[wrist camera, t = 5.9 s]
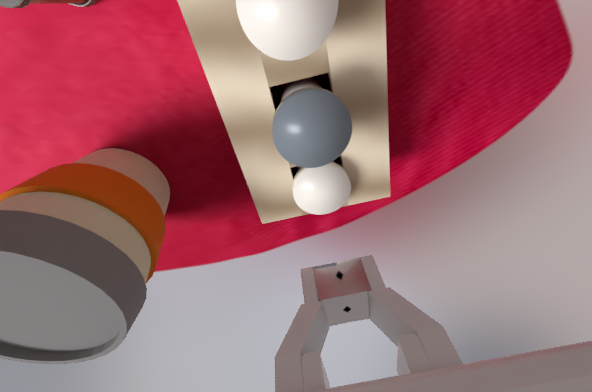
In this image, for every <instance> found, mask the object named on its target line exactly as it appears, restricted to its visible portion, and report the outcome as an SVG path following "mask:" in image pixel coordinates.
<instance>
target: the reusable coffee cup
mask: <svg viewBox="0 0 592 392" xmlns="http://www.w3.org/2000/svg"><path fill="white" fill-rule="evenodd" d="M169 199H170V188H169V184H168V182H167V179H166V178H165V176H164V175H163V173H162V172H161V171H160V170H159V168H158V167H157V166H156V165H154V164H153V163H152V162H151V161H149V160H148V159H146V158H145V157H143V156H141V155H139V154H137V153H134V152H132V151H128V150H124V149H117V148H107V149H100V150H97V151H94V152H92V153H90V154H88V155H86V156H85V157H83V158H81V159H79V160H77V161H75V162H73V163H72V164H63V165H59V166H56V167H53V168H50V169H48V170H46V171H44V172H42V173H40V174H39V175H37V176H35V177H33V178H31V179H29V180H27V181H25V182H23V183H21V184H19V185H17V186H15V187H13V188H11V189H9V190H7V191H5V192H3V193H2V194H0V358H3V359H8V360H14V361H21V362H28V363H41V364H67V363H76V362H83V361H87V360H92V359H95V358H98V357H100V356H103V355H106V354H108V353H109V352H111V351H113V350H114V349H116V348H117V347H118V346H119V345H120V343H122V341H123V340H124V338H125V337H126V335H127V333H128V331H129V329H130V328H131V326H132V324H133V322H134V321H135V319H136V317H137V315H138V314H139V312H140V310H141V308H142V306H143V304H144V302H145V299H146V289H147V288H146V285H145V284H146V283H147V281H148V280H149V279H150V278H151V277H152V275H153V273H154V270H155V268H156V264H157V261H158V257H159V253H160V249H161V245H162V242H163V238H164V234H165V227H166V223H165V214H166V210H167V206H168V203H169Z"/></svg>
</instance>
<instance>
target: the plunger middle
mask: <svg viewBox="0 0 592 392" xmlns="http://www.w3.org/2000/svg"><path fill="white" fill-rule="evenodd" d="M272 134H273V141H274V144H275V147H276V149H277V150H278V152H279V153H280V155H281V156H282V157H283V158H284V159H285V160H287V161H288V162H290V163H291V164H294V165H296V166H299V167H304V168H316V167H321V166H324V165H326V164H329V163H331V162H332V161H334V160H335V159H337V158H338V157H339V156H340V155H341V154H342V153H343V152H344V150H345V149H346V147H347V145H348V143H349V141H350V138H351V134H352V121H351V117H350V114H349V112H348V110H347V108H346V107H345V105H344V104H343V102H342V101H341V100H340V99H339V98H338V97H337V96H336V95H335V94H334V93H332V92H330V91H329V90H326V89H323V88H322V87H321V86H320V84H319V83H318V82H317V81H315V80H314V79H312V78H310V77H308V78H304V79H300V80H296V81H292V82H288V83H287V84H286V85H285V86H284V88H283V89H282V92H281V95H280V104H279V106H278V107H277V109H276V111H275V114H274V117H273V124H272Z"/></svg>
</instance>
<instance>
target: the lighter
mask: <svg viewBox="0 0 592 392" xmlns="http://www.w3.org/2000/svg"><path fill="white" fill-rule="evenodd" d="M96 1H97V0H0V6H2V7H8V8H23V7H25V6H28V5H29V4H30V3H68V4H71V5H74V6H81V7H89V6H91V5H94V4H95V2H96Z"/></svg>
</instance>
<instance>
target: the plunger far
mask: <svg viewBox="0 0 592 392" xmlns="http://www.w3.org/2000/svg"><path fill="white" fill-rule="evenodd" d="M296 168H297V173H296V175H295V177H294V179H293V184H292V189H293V197H294V200H295V202H296V204H297V205H298V206H299V207H300V208H301V209H302V210H304V211H306V212H308V213H311V214H317V215H321V214H328V213H331V212H334V211H336V210H337V209H339V208H340V207H342V206H343V205H344V204H345V203H346V201H347V200H348V198H349V196H350V193H351V183H350V180H349V178H348V175H347V173H346V171H345V170H344V169H343V167H341V166H340V165H339V164H337V163H335V162H334V161H332V162H331V163H329V164H326V165H324V166H321V167H316V168H304V167H299V166H296Z"/></svg>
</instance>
